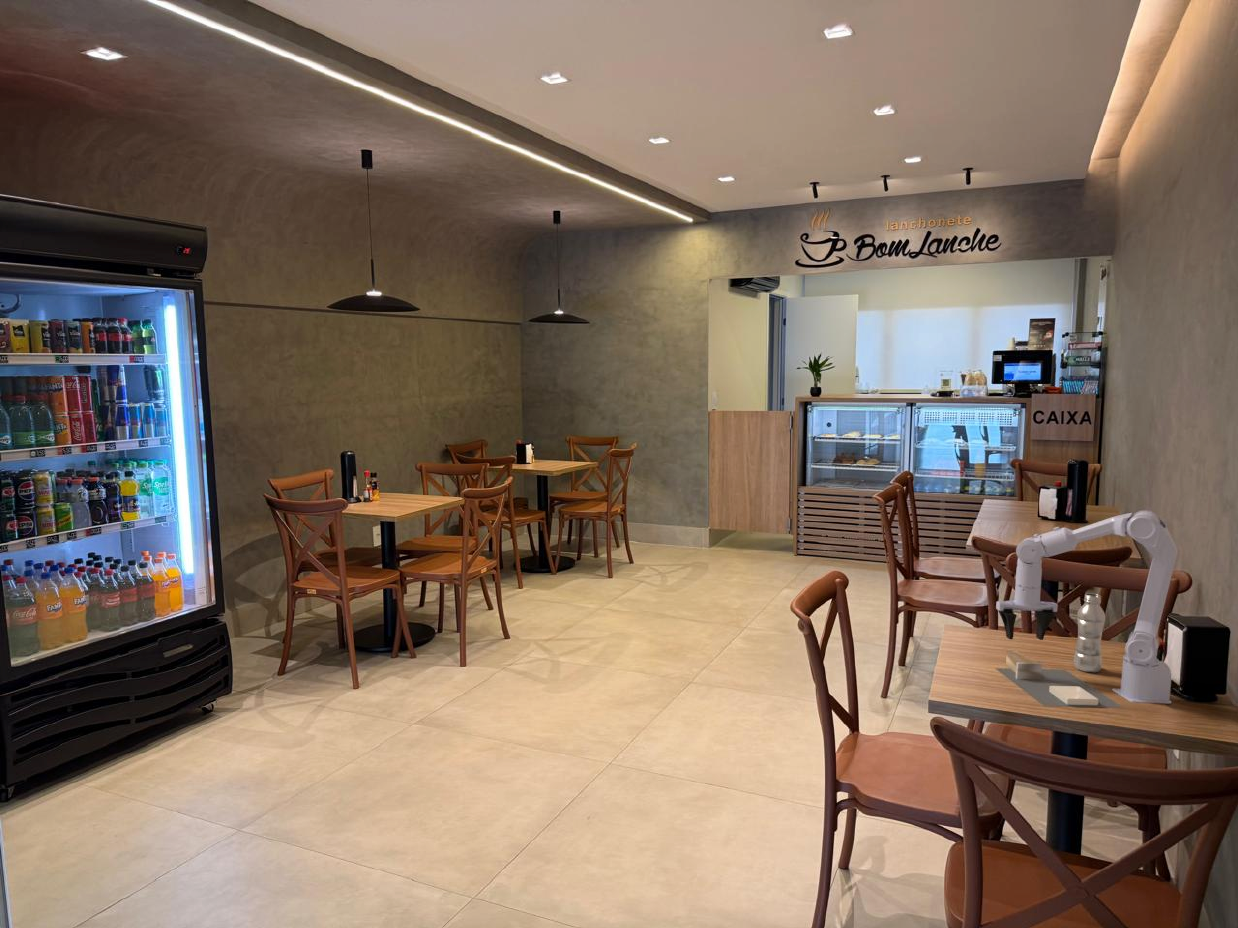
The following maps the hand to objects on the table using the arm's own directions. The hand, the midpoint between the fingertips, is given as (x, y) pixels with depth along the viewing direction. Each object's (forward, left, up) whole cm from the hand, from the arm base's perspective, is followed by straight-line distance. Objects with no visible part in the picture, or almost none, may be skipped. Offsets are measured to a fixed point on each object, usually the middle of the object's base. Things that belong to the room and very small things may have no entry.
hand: (1024, 638), depth 210 cm
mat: (-3, +9, -9) cm, 14 cm away
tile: (-3, +13, -8) cm, 16 cm away
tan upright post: (+1, 0, -9) cm, 9 cm away
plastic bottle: (-18, -4, -10) cm, 21 cm away
